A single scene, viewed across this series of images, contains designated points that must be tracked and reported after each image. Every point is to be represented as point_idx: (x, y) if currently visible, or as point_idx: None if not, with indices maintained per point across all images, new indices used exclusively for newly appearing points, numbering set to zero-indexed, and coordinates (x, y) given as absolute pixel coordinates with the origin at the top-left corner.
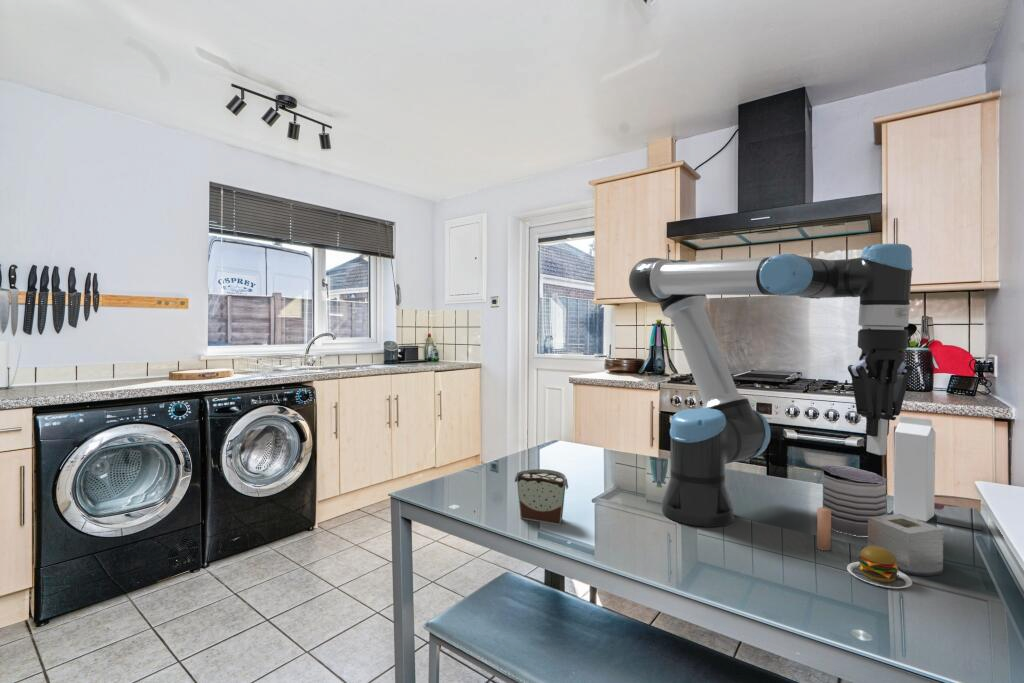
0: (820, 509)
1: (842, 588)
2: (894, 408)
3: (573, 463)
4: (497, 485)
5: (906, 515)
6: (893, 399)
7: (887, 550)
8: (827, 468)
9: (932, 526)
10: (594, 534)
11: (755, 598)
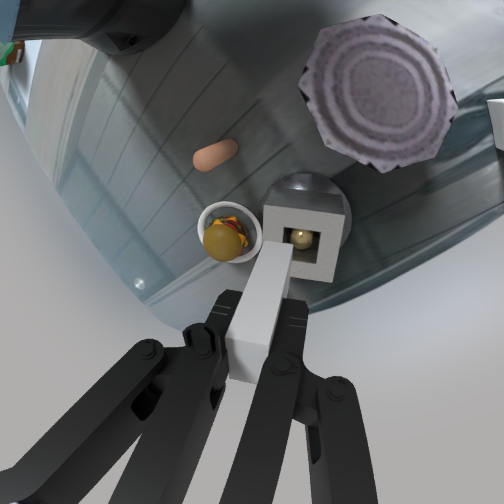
0: (196, 158)
1: (170, 235)
2: (306, 436)
3: None
4: None
5: (491, 120)
6: (314, 474)
7: (226, 255)
8: (339, 39)
9: (329, 271)
10: (31, 81)
11: (94, 222)
